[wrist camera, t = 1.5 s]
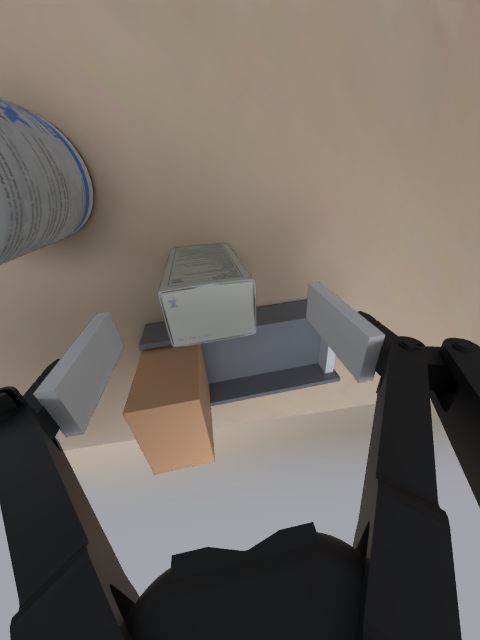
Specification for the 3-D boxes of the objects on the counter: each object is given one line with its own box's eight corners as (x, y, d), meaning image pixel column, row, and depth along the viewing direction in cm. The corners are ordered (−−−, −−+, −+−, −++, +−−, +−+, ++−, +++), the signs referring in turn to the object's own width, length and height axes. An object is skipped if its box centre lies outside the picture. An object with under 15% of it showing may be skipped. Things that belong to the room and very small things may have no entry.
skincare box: (178, 286, 27) (168, 350, 16) (170, 246, 24) (152, 291, 14) (233, 279, 27) (257, 337, 17) (230, 239, 25) (255, 279, 15)
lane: (168, 390, 34) (165, 415, 30) (145, 324, 28) (138, 345, 25) (325, 361, 37) (339, 380, 33) (333, 295, 31) (352, 310, 27)
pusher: (165, 391, 33) (154, 474, 23) (146, 336, 28) (122, 413, 18) (208, 383, 33) (214, 461, 24) (197, 328, 29) (199, 399, 19)
